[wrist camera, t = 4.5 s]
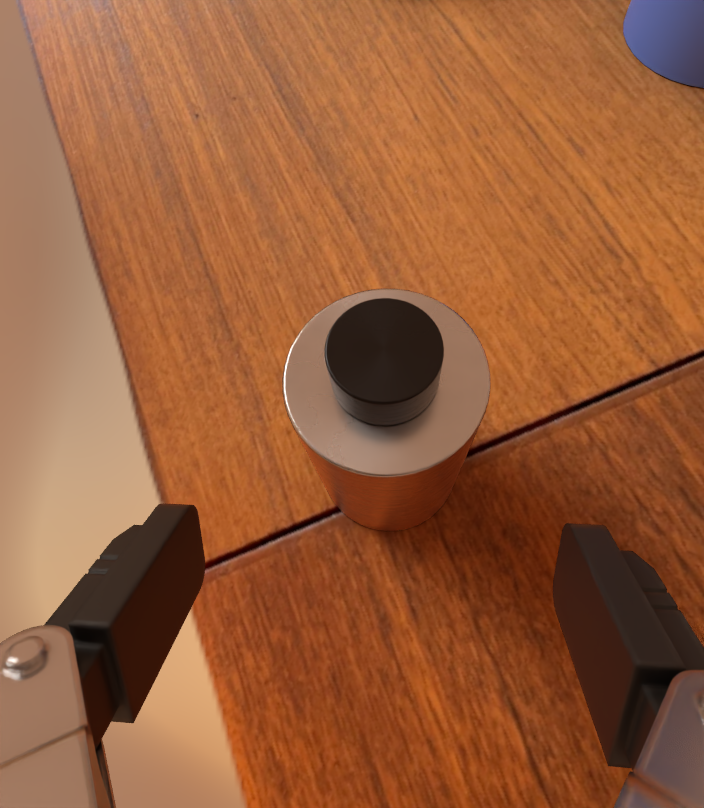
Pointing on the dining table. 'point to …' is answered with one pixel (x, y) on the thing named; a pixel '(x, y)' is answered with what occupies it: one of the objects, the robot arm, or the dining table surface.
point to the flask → (387, 403)
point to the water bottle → (668, 37)
